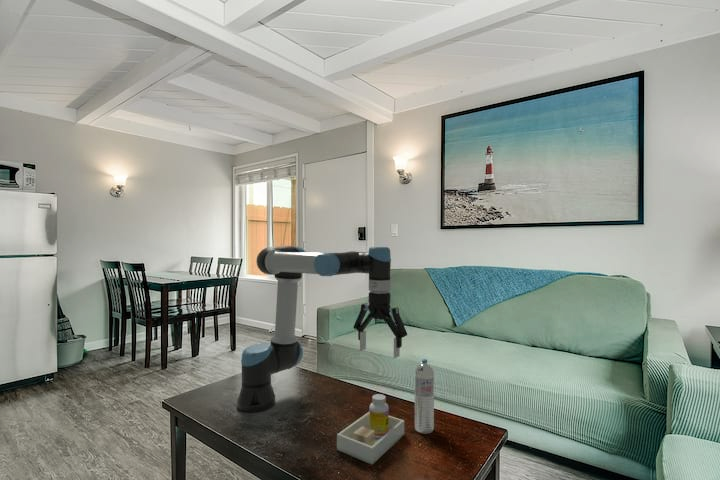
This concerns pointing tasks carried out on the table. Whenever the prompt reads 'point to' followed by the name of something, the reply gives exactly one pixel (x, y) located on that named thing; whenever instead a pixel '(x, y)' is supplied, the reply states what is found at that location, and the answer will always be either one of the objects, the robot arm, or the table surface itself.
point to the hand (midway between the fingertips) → (379, 353)
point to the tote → (363, 450)
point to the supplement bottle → (379, 415)
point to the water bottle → (424, 398)
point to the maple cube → (365, 435)
